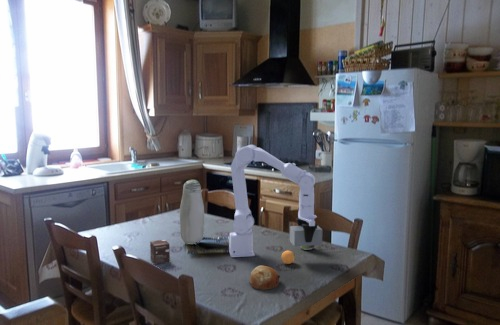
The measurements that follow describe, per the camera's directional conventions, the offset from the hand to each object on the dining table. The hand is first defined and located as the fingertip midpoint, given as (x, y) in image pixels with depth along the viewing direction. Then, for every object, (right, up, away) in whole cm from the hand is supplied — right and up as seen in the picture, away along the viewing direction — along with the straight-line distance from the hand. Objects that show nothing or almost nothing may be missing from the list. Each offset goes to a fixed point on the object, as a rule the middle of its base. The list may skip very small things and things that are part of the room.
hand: (305, 239), depth 157 cm
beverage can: (+2, -7, +14) cm, 16 cm away
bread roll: (-17, -12, -20) cm, 28 cm away
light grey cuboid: (0, -2, 0) cm, 2 cm away
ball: (-7, -6, -3) cm, 10 cm away
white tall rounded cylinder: (-47, -6, +19) cm, 51 cm away
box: (-56, -8, -1) cm, 57 cm away
